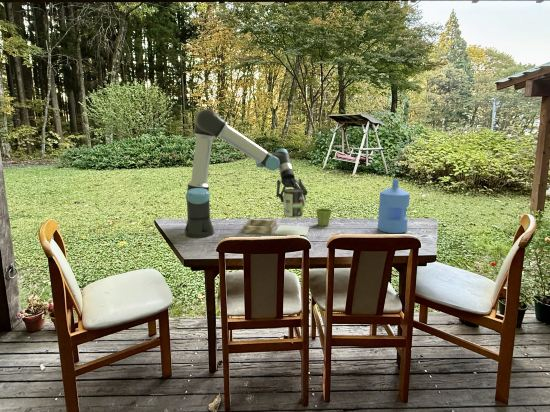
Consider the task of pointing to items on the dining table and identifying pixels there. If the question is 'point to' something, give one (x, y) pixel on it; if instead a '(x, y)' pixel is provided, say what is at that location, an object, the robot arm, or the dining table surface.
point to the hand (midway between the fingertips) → (295, 206)
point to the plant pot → (323, 216)
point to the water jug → (393, 209)
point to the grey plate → (292, 230)
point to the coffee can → (293, 203)
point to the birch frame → (259, 226)
